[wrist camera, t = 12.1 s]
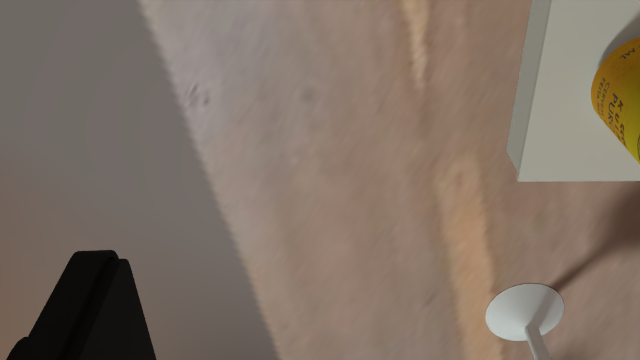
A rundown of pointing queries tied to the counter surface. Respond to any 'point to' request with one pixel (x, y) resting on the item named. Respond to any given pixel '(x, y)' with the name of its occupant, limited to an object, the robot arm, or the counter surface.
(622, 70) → the beer can
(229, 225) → the counter surface
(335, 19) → the counter surface
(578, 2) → the riser
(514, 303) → the champagne flute
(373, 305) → the counter surface
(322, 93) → the counter surface
